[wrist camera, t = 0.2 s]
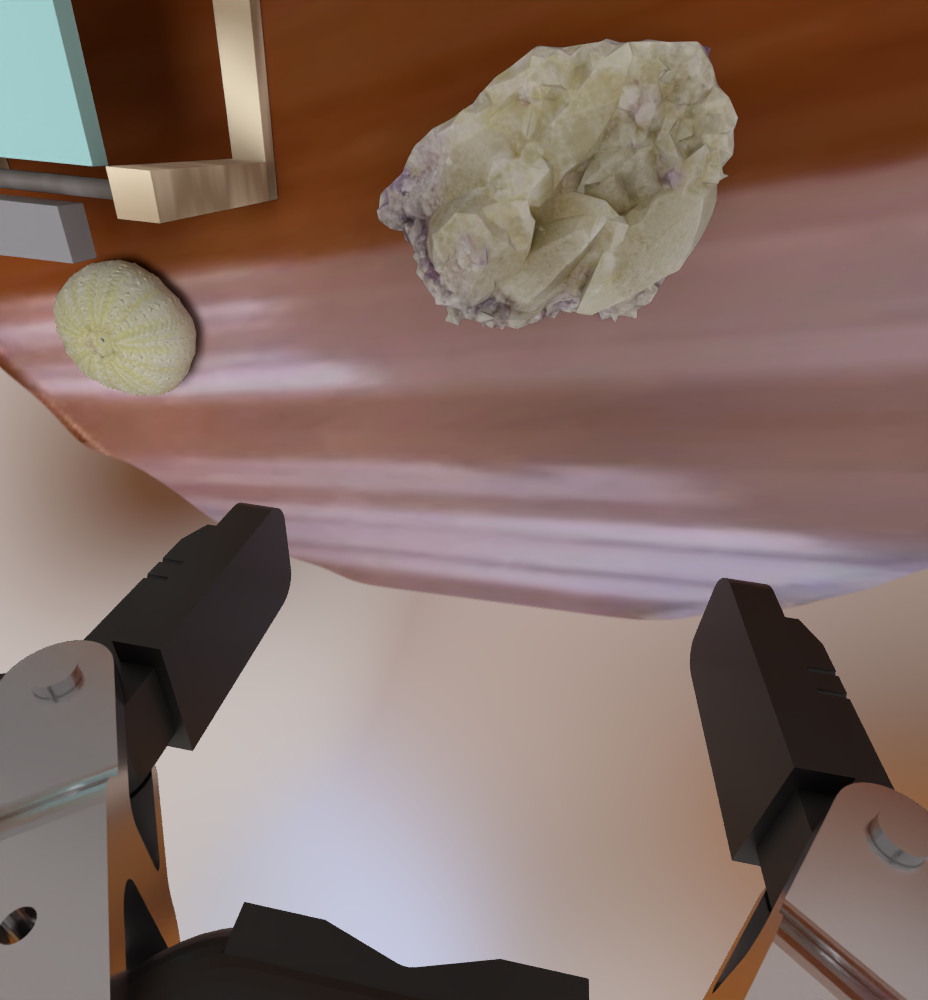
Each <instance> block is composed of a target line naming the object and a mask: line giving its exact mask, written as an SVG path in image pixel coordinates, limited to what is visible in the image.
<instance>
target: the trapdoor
mask: <svg viewBox="0 0 928 1000" xmlns="http://www.w3.org/2000/svg"><path fill="white" fill-rule="evenodd" d="M0 157H5V158H15V159H25V160H35V161H45V162H55V163H64V164H74V165H84V166H108V162H107V157H106V153H105V149H104V144H103V140H102V135H101V131H100V127H99V122H98V118H97V113H96V109H95V105H94V100H93V96H92V92H91V87H90V83H89V78H88V74H87V70H86V65H85V61H84V57H83V52H82V48H81V43H80V39H79V35H78V30H77V26H76V22H75V17H74V13H73V8H72V4H71V0H0ZM0 255H6V256H15V257H23V258H32V259H40V260H49V261H57V262H65V263H77V262H81V261H85V260H89V259H93V258H97V256H96V252H95V248H94V245H93V241H92V237H91V233H90V229H89V225H88V221H87V217H86V214H85V210H84V206H83V203H78V202H68V201H59V200H50V199H40V198H31V197H22V196H12V195H3V194H0Z"/></svg>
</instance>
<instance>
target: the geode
mask: <svg viewBox="0 0 928 1000" xmlns="http://www.w3.org/2000/svg"><path fill="white" fill-rule="evenodd" d="M710 50H711V48H709V47H706V46H703V45H701V44H700V43H699V42H664V41H657V40H649V39H648V40H644V41H640V42H627V43H621V42H616V41H613V40H609V39H605V40H603V41H600V42H595V43H589V44H582V45H576V46H570V47H564V48H560V47H549V46H536V47H535V48H533V49H532V50H531V51H530V52H528V53H527V54H526V55H525V56H523V57H522V58H521V59H520V60H518V61H517V62H516V63H515V64H513V65H512V66H511V67H510V68H508V69H507V70H505V71H504V72H502V73H501V74H499V75H498V76H496V77H495V78H494V79H493V80H492V82H491V83H490V84H489V85H488V86H487V87H486V88H485V89H484V90H483V91H482V92H481V93H480V94H479V96H478V97H477V99H476V100H475V101H474V103H473V104H471V105H470V106H468V107H466V108H465V109H463V110H461V111H460V112H459V113H458V114H457V115H456V116H455V117H453V118H452V119H450V120H448V121H447V122H445V123H443V124H441V125H439V126H437V127H435V128H433V129H432V130H431V131H430V132H429V133H428V134H427V135H426V136H425V137H424V138H423V139H422V140H420V141H419V142H418V143H417V144H416V145H415V146H414V148H413V150H412V152H411V154H410V156H409V158H408V160H407V162H406V164H405V167H404V170H403V173H402V174H401V175H400V176H399V177H398V178H397V179H396V180H395V181H394V182H393V183H392V184H390V185H389V186H388V187H387V188H386V189H385V190H384V191H383V192H382V194H381V195H380V204H379V209H378V210H377V213H378V218H379V221H381V222H382V223H383V224H385V225H386V226H387V227H389V228H390V229H394V230H399V231H403V233H404V237H405V240H406V241H408V242H409V243H410V244H411V245H412V246H413V249H414V251H415V254H414V256H413V258H414V259H415V260H416V262H417V263H418V267H417V271H416V273H417V275H418V276H419V277H420V278H421V279H422V281H423V283H424V284H425V286H426V287H427V289H428V290H429V292H430V293H431V295H432V296H433V297H434V299H435V302H436V304H438V305H443V306H445V307H446V309H447V311H448V315H447V318H446V320H445V321H448V322H452V323H454V324H456V325H457V326H459V323H460V320H461V319H468V320H474V321H477V322H480V323H481V325H482V326H485V325H487V326H489V327H490V328H491V329H492V328H493V327H495V326H497V327H499V328H501V329H503V328H504V327H505V326H508V327H511V328H515V329H519V328H521V327H524V326H526V325H527V324H528V323H536V322H538V321H540V320H541V319H542V318H543V316H544V315H545V316H549V317H552V318H555V317H556V315H557V314H558V313H559V311H560V310H561V311H565V312H569V313H572V312H576V313H579V314H584V315H593V314H595V313H597V312H599V315H600V317H601V319H607V318H609V317H612V318H613V320H614V321H615V322H616V320H617V319H618V317H619V315H623V316H627V317H631V318H635V319H636V317H637V309H639V308H641V307H643V306H644V305H646V304H648V303H650V302H651V301H652V299H653V297H654V296H655V294H656V292H657V291H658V287H657V286H660V285H662V283H663V281H664V279H665V277H666V276H668V275H670V274H672V273H675V272H677V271H679V269H680V268H681V266H682V265H683V264H684V262H685V261H686V259H687V258H688V256H689V255H690V254H691V252H692V251H693V249H694V248H695V246H696V245H697V243H698V241H699V240H700V238H701V237H702V235H703V233H704V231H705V229H706V227H707V225H708V223H709V221H710V219H711V217H712V213H713V210H714V207H715V203H716V200H717V184H718V183H719V180H721V179H723V178H725V177H727V176H728V175H726V174H723V170H722V167H723V166H724V165H725V164H726V162H727V161H728V160H729V159H730V158H731V156H732V155H733V149H734V133H733V130H734V127H735V125H736V122H737V119H738V117H737V115H736V112H735V110H734V108H733V106H732V103H731V101H730V99H729V97H728V96H727V95H726V94H725V93H724V92H723V91H722V89H721V88H720V86H719V85H718V83H717V81H716V77H715V74H714V70H713V66H712V64H711V61H710V58H709V53H710ZM577 306H578V308H577Z"/></svg>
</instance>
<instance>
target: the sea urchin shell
mask: <svg viewBox="0 0 928 1000" xmlns="http://www.w3.org/2000/svg"><path fill="white" fill-rule="evenodd" d="M55 298H56V302H55V305H54V308H53V309H54V310H53V311H54V316H55V322H56V325H57V326H56V331H57V332H58V334H59V336H60V338H61V339H62V341H63V344H64V347H65V349H66V351H67V354H68V355H70V356H71V358H72V359H73V361H74V363H75V364H76V366H77V367H78V369H79V370H80V371H82V372H83V373H84V374H86V375H87V377H88V378H91V379H94V380H96V381H98V382H99V383H101V384H103V385H106V386H107V387H108V388H112V389H117V390H120V391H123V392H126V393H130V394H131V395H133V394H134V395H137V396H138V395H156V396H158V395H161V394H165V393H166V392H169V391H172V390H174V389H175V388H176V387H177V386H178V385H179V384H180V383H181V381H182V380H183V379H184V378H185V376H186V375H187V374H188V373H189V369H190V365H191V362H192V360H193V357H194V355H195V353H196V351H195V349H196V329H195V326H194V322H193V318H191V316H190V315H189V313H188V312H187V310H186V309H185V308H184V306H183V305H182V303H181V302H180V299H179V298H178V297H176V296H175V295H174V294H173V293H172V292H171V291H170V290H169V289H168V288H167V287H166V286H165V285H164V284H163V283H162V281H161V280H160V279H159V277H156V276H154V274H153V273H149V272H148V271H147V270H145V269H143V268H142V267H140V266H139V265H137V264H136V263H130V262H126V261H122V260H110V261H104V262H98V263H91V264H90V265H87V266H86V267H84V268H83V269H82V270H80V271H79V272H78V273H75V274H74V275H73V276H72V277H70V278H69V280H68V281H67V282H66V284H65V285H64V287H63V288H62V289H61V291H60V292H59V294H57V297H55Z"/></svg>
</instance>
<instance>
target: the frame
mask: <svg viewBox="0 0 928 1000" xmlns="http://www.w3.org/2000/svg"><path fill="white" fill-rule="evenodd" d="M213 8H214V16H215V24H216V32H217V40H218V47H219V55H220V63H221V71H222V79H223V87H224V95H225V103H226V111H227V119H228V127H229V135H230V142H231V150H232V158H233V159H220V160H204V161H187V162H170V163H153V164H136V165H119V166H106V170H107V174H108V179H100V178H91V177H81V176H71V175H61V174H52V173H42V172H32V171H22V170H13V169H9V165H8V162H7V159H6V158H5V157H0V188H7V189H17V190H26V191H35V192H45V193H54V194H64V195H73V196H83V197H92V198H101V199H111V200H114V205H115V209H116V213H117V218H118V219H125V220H134V221H144V222H153V223H164V222H169V221H174V220H179V219H184V218H188V217H193V216H198V215H203V214H208V213H213V212H218V211H222V210H227V209H232V208H237V207H242V206H247V205H252V204H256V203H261V202H266V201H271V200H276V199H278V194H277V183H276V172H275V162H274V151H273V140H272V129H271V118H270V107H269V96H268V86H267V75H266V64H265V53H264V42H263V31H262V20H261V10H260V0H213Z"/></svg>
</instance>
